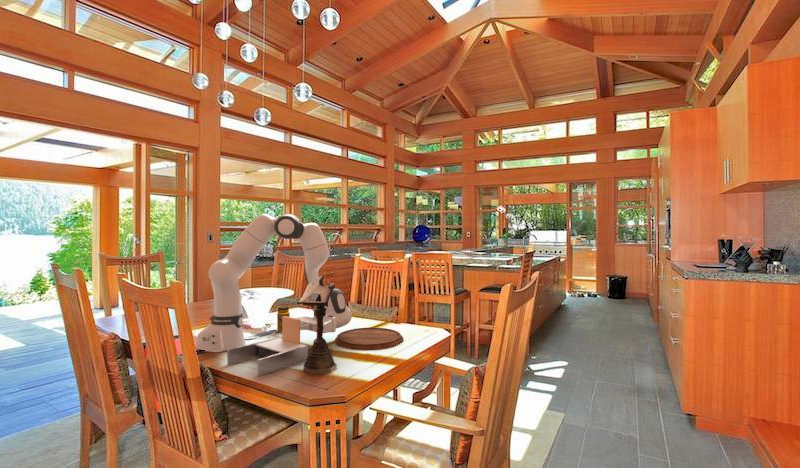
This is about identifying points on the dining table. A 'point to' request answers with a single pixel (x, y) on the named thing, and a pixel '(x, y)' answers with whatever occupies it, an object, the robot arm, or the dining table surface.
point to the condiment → (281, 312)
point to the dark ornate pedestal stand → (318, 328)
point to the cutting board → (368, 338)
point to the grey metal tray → (267, 357)
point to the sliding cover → (285, 336)
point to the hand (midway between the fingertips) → (297, 328)
